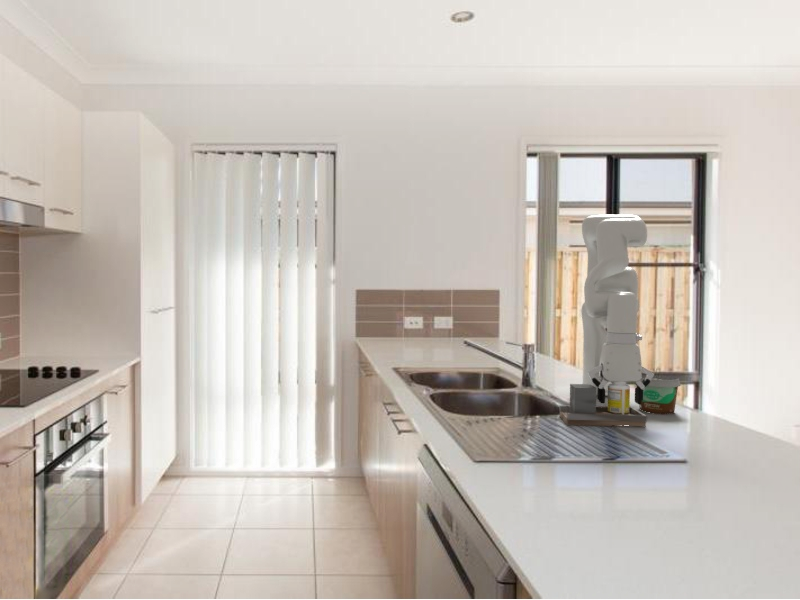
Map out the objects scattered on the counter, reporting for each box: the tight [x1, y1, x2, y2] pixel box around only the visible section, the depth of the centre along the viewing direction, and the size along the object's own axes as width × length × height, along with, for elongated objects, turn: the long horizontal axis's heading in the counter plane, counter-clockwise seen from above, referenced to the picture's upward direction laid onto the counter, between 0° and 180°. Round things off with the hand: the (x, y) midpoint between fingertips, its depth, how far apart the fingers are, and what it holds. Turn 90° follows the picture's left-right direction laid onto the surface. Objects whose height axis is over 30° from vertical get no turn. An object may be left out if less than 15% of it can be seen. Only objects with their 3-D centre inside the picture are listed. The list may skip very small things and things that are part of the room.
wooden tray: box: [558, 383, 648, 428], centre depth 161 cm, size 11×20×10 cm, turn 87°
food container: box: [638, 377, 681, 415], centre depth 173 cm, size 12×6×10 cm, turn 62°
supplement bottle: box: [607, 381, 631, 415], centre depth 161 cm, size 6×6×10 cm
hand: (619, 403), depth 161 cm, fingers open, 9 cm apart
